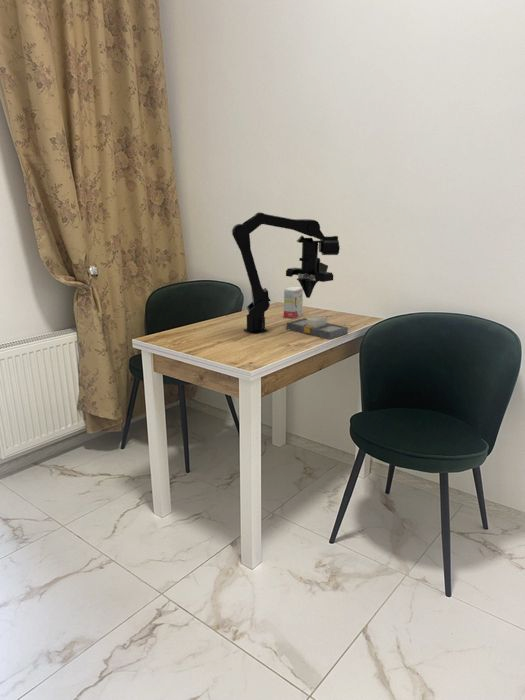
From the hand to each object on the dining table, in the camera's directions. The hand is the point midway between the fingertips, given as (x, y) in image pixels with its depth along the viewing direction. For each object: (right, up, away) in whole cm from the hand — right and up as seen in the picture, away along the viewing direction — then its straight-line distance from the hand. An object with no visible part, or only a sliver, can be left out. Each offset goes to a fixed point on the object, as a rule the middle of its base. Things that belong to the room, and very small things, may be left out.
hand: (308, 297), depth 184 cm
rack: (+3, -13, 0) cm, 13 cm away
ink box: (-4, -5, +24) cm, 25 cm away
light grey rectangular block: (+3, -12, 0) cm, 12 cm away
